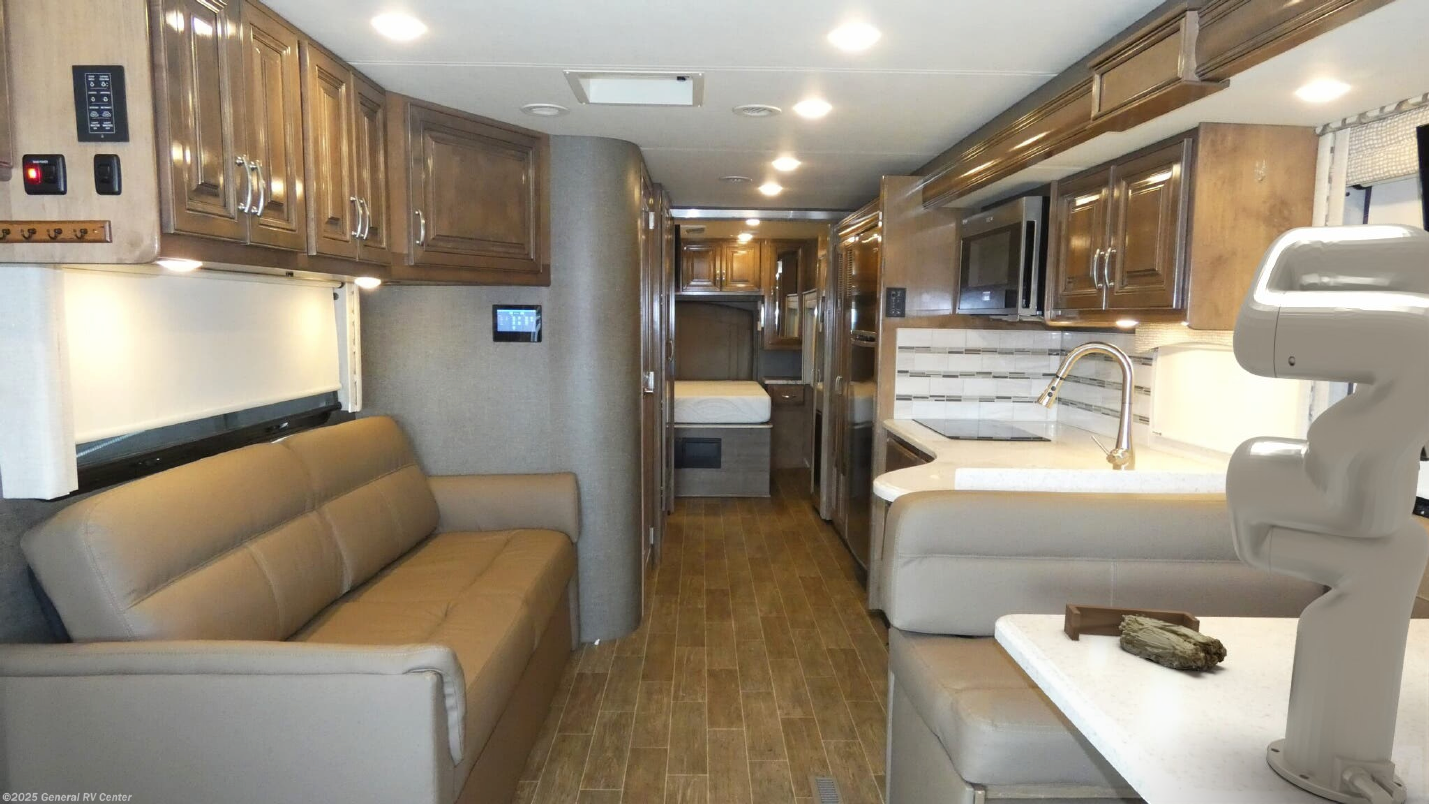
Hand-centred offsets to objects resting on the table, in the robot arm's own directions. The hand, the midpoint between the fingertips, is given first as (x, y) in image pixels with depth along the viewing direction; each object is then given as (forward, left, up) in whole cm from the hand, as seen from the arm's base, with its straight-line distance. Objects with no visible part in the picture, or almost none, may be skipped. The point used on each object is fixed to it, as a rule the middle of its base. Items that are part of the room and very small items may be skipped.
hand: (1378, 508), depth 107 cm
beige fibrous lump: (+12, +19, -28) cm, 36 cm away
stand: (+18, +23, -27) cm, 40 cm away
